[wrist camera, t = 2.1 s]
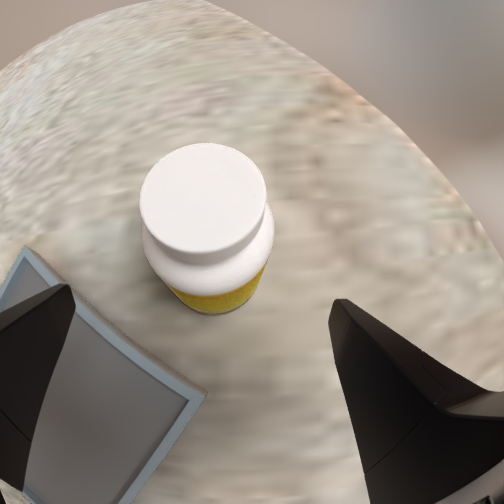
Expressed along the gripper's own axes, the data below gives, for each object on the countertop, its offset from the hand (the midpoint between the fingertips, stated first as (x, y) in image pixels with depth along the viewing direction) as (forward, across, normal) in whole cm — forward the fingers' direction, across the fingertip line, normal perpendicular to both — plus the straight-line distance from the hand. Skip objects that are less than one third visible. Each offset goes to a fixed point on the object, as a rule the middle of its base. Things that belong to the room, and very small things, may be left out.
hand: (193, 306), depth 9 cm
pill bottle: (+11, 0, +5) cm, 12 cm away
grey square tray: (+2, +12, +13) cm, 18 cm away
